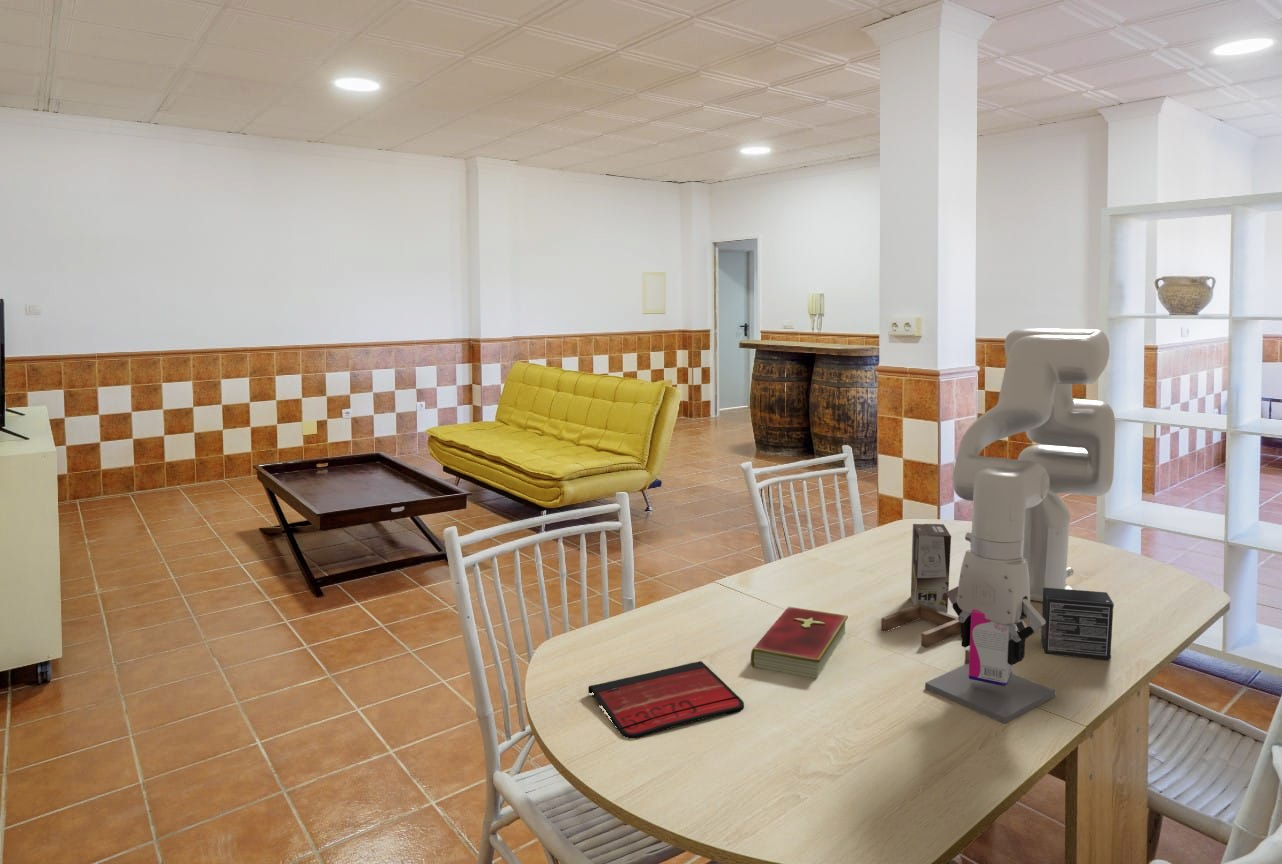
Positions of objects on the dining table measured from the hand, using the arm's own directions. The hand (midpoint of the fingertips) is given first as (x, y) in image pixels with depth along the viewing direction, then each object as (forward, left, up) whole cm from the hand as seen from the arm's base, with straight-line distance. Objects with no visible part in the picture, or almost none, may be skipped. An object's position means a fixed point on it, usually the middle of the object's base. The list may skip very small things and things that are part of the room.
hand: (991, 652), depth 132 cm
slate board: (0, 0, -7) cm, 7 cm away
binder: (+43, -29, -8) cm, 53 cm away
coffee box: (-24, -29, -7) cm, 38 cm away
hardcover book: (+12, -30, -7) cm, 33 cm away
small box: (-26, 0, -7) cm, 27 cm away
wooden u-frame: (-11, -17, -7) cm, 21 cm away
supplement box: (0, 0, -4) cm, 4 cm away
